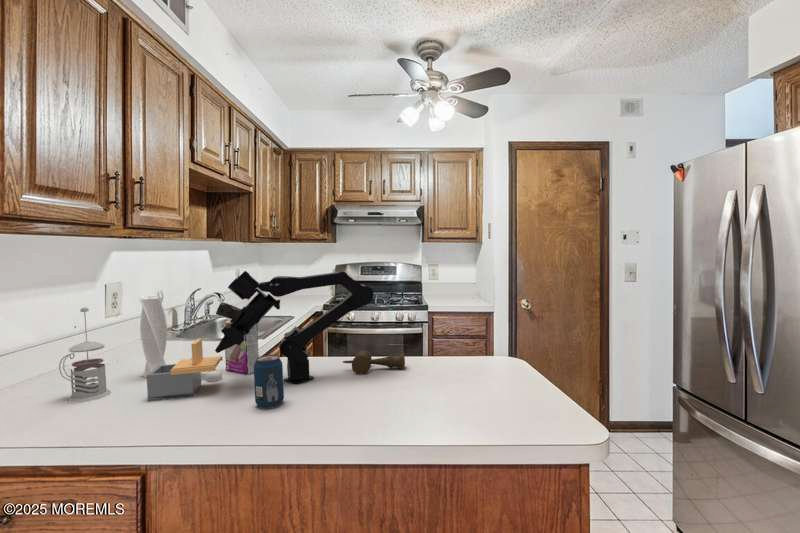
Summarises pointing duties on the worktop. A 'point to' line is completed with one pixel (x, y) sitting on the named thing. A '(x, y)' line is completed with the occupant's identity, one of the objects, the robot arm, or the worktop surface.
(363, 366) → the kendama
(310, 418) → the worktop surface
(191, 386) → the housing
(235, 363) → the candy bar box
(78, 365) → the french press
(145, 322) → the skyscraper
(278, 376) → the soda can
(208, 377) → the ball with square handle
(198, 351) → the lid
